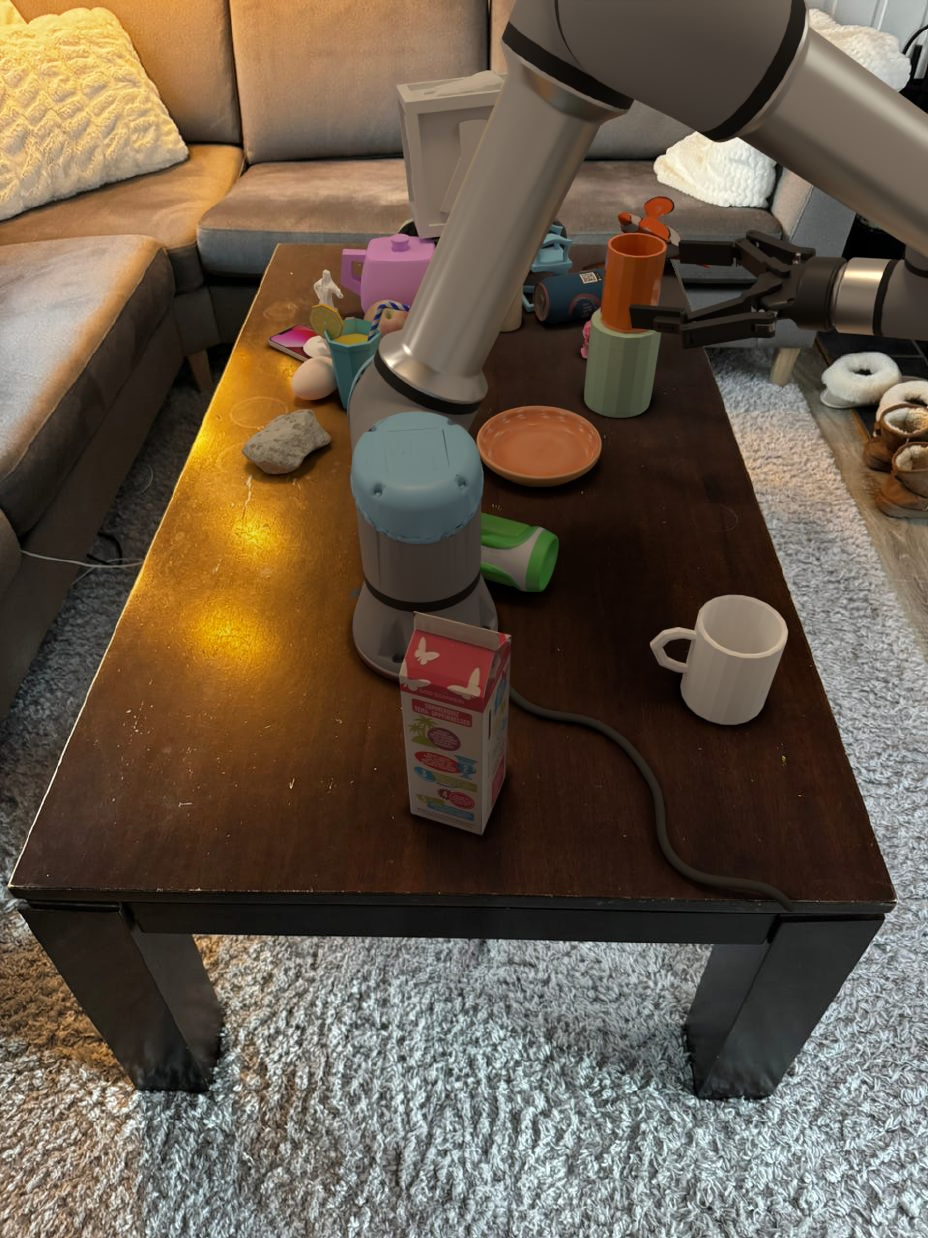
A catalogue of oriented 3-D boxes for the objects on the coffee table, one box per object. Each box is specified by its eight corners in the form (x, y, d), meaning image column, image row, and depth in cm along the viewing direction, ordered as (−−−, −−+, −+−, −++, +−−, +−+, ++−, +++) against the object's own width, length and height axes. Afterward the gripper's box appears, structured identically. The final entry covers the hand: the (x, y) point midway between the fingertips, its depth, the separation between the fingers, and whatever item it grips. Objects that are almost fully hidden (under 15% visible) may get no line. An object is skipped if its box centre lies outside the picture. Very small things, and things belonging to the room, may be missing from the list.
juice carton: (437, 755, 84) (429, 583, 69) (505, 775, 82) (513, 603, 67) (410, 813, 80) (395, 643, 64) (481, 835, 78) (483, 666, 62)
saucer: (583, 506, 110) (585, 486, 108) (460, 481, 114) (459, 462, 112) (611, 436, 121) (613, 416, 118) (497, 415, 124) (498, 396, 122)
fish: (643, 177, 145) (620, 177, 158) (605, 252, 149) (586, 246, 162) (742, 234, 150) (712, 230, 163) (702, 305, 154) (676, 296, 168)
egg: (322, 362, 131) (279, 387, 128) (328, 340, 126) (284, 365, 123) (346, 391, 131) (303, 416, 127) (353, 370, 126) (309, 396, 122)
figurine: (293, 346, 134) (292, 266, 126) (327, 334, 139) (329, 256, 131) (327, 365, 132) (329, 284, 124) (361, 351, 136) (365, 272, 128)
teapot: (340, 334, 141) (331, 254, 132) (347, 298, 150) (339, 220, 141) (468, 333, 141) (468, 253, 132) (468, 297, 149) (467, 219, 140)
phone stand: (576, 306, 147) (582, 232, 138) (527, 312, 146) (530, 237, 137) (561, 285, 152) (566, 213, 144) (514, 291, 151) (516, 218, 142)
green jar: (662, 408, 126) (675, 328, 117) (605, 423, 123) (614, 343, 114) (627, 377, 132) (638, 298, 123) (572, 391, 129) (579, 312, 120)
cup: (417, 388, 130) (412, 288, 119) (411, 418, 124) (406, 315, 114) (321, 385, 131) (308, 285, 120) (312, 415, 125) (297, 313, 114)
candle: (481, 319, 144) (481, 258, 137) (511, 312, 146) (513, 251, 139) (496, 334, 141) (497, 272, 134) (527, 327, 142) (530, 265, 135)
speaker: (532, 602, 95) (551, 589, 102) (547, 536, 93) (565, 527, 100) (384, 559, 100) (412, 549, 107) (395, 495, 98) (423, 489, 105)
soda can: (612, 322, 145) (543, 334, 143) (595, 291, 148) (528, 303, 145) (623, 288, 139) (552, 300, 136) (605, 257, 142) (535, 268, 139)
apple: (397, 375, 136) (381, 337, 129) (362, 356, 139) (344, 318, 132) (430, 339, 137) (416, 300, 130) (395, 321, 141) (379, 282, 134)
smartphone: (334, 372, 131) (264, 338, 138) (334, 378, 132) (265, 344, 139) (369, 354, 135) (300, 322, 142) (369, 360, 136) (301, 328, 143)
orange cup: (665, 326, 117) (677, 250, 110) (618, 338, 115) (627, 261, 108) (636, 303, 122) (646, 228, 115) (590, 313, 120) (597, 238, 113)
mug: (636, 661, 92) (650, 591, 85) (755, 664, 92) (778, 594, 85) (644, 723, 87) (659, 654, 80) (770, 726, 86) (796, 657, 79)
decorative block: (410, 209, 153) (394, 73, 141) (520, 196, 154) (515, 59, 142) (419, 239, 138) (403, 89, 126) (542, 224, 139) (538, 74, 127)
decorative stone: (325, 482, 114) (321, 449, 111) (240, 483, 114) (233, 450, 111) (334, 427, 123) (330, 395, 119) (255, 428, 123) (249, 396, 119)
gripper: (799, 396, 93) (614, 372, 104) (875, 263, 104) (701, 254, 115) (800, 333, 87) (604, 315, 98) (880, 200, 98) (696, 197, 110)
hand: (656, 282), depth 107 cm, fingers open, 13 cm apart
